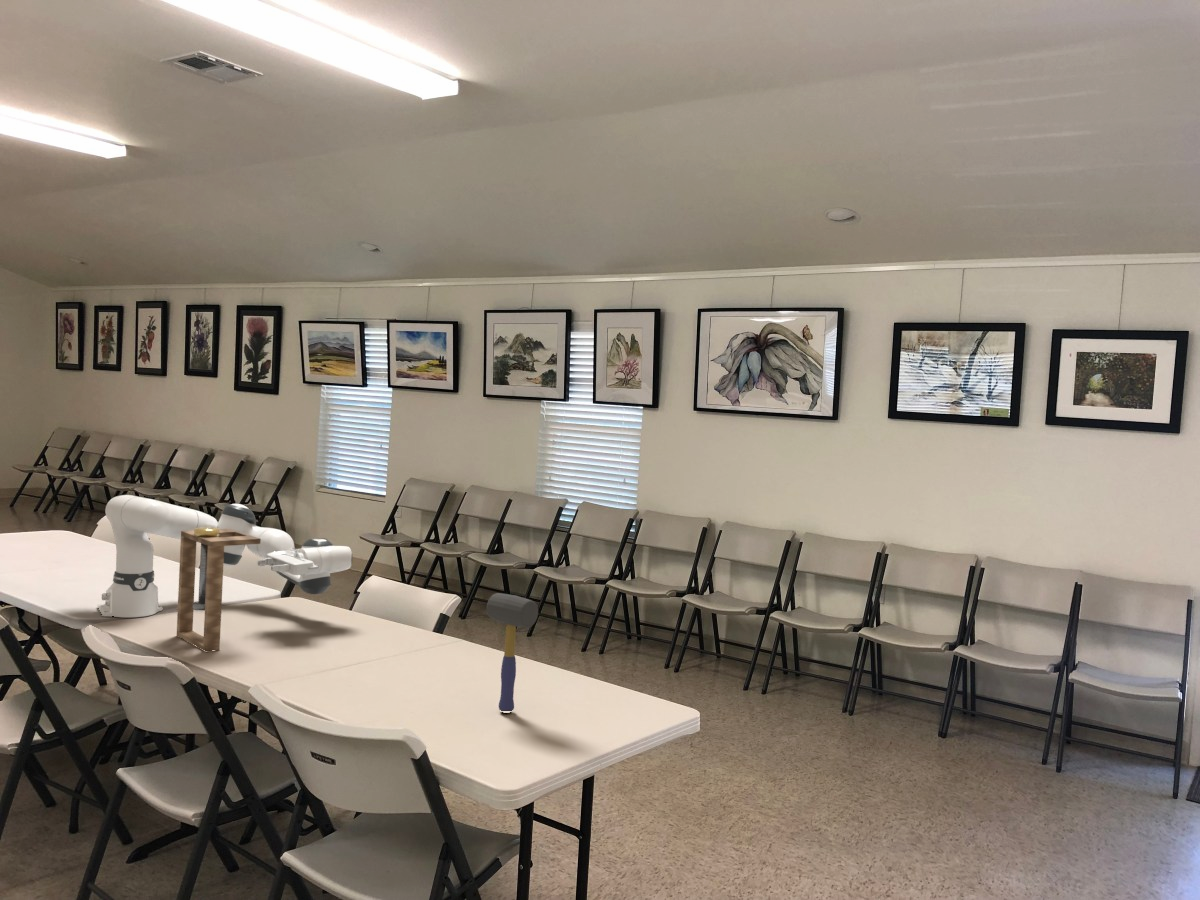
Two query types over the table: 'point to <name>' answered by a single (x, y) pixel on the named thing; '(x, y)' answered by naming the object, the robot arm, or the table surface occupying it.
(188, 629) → the keyhole rack
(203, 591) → the hanger bolt
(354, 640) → the table surface
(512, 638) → the rubber mallet
